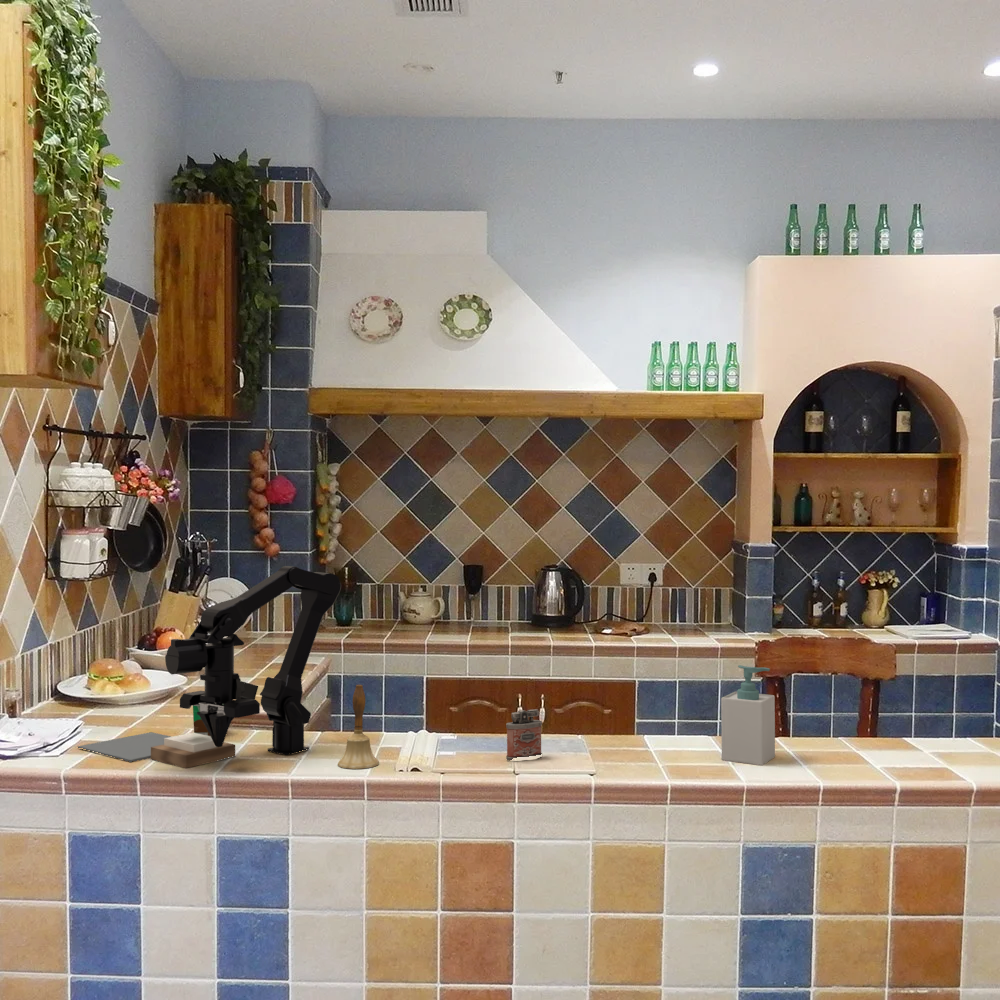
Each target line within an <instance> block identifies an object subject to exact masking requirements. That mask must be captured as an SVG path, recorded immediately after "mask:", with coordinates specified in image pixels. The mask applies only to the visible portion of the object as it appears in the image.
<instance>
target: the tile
mask: <svg viewBox="0 0 1000 1000" xmlns="http://www.w3.org/2000/svg"><path fill="white" fill-rule="evenodd" d="M164 746H168V747H172V748H177V749H181V750H185V751H190V752H198V751H202V750H207V749H212V748H216V746H215V744H214V742H213V740H212V738H211V736H207V735H202V734H197V733H194V732H189V733H185V734H179V735H175V736H174V735H173V736H171V737H168V738H164Z"/></svg>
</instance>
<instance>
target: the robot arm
mask: <svg viewBox="0 0 1000 1000" xmlns="http://www.w3.org/2000/svg"><path fill="white" fill-rule="evenodd" d="M291 588H294V589H297V590H301V591H300V602H301V603H300V605H301V608H300V609H301V611H300V613H299V615H298V618H297V621H296V624H295V627H294V628H293V629H294V630H293V633H292V635H291V638H290V641H289V644H288V647H287V649H286V651H285V655H284V657H283V661H282V663H281V666H280V669H279V671H278V672H277V673H276V675H274V677H270V676H267V677H266V679H265V680H264V681H265V682H264V686H263V689H262V690H261V692H260V693H259V696H261V698H260V702H259V701H258V700H257V699H256V696H257V693H258V689H259V685H256V684H253V683H249V682H247V681H242V680H241V677H240V674H239V673H238V672H237V673H236V672H235V647H237V646H238V647H239V646H244V645H245V642H244V641H243V640H242V639H241V638H239V636H238V634H236V632H238V630H239V629H241V628H242V627H243V625H244V624H245V623H246V622H247V620H248V618H249V617H250V616H251V615H252V614H253V613H255V612H256V611H258V610H259V609H260V608H262V607H264V606H265V605H267V604H268V603H270V602H271V601H273V600H274V599H276V598H277V597H279V596H280V595H282V594H284V593H285V592H286V591H288V590H290V589H291ZM341 589H342V583H341V582H340V579H339V577H338V576H337V575H336V574H335V573H331V572H320V571H318V572H317V571H316V572H313V571H309V570H304V569H302V568H300V567H297V566H289V565H284V566H282V567H280V568H279V569H278V570H277V571H275V572H274V573H272V574H271V575H270V576H268V577H267V578H265V579H263V580H262V581H260V582H259V583H256V584H255V585H254V586H253V587H250V588H249V589H247V590H246V591H244V592H243V593H241V594H239V595H238V596H236V597H233V598H231V599H228V600H225V601H221V602H218V603H216V604H214V605H211V606H209V607H207V608H206V609H204V610H203V611H202V613H201V617H200V621H199V622H198V624H197V626H196V627H195V629H194V630H193V632H192V633H191V634H190V635H189V638H183V639H181V638H180V639H179V638H172V639H170V645H169V647H168V649H167V651H166V654H165V657H164V658H165V659H164V661H165V666H166V669H167V672H168V673H169V674H170V675H172V676H173V675H178V674H179V675H180V674H181V675H182V674H190V673H198V672H201V671H202V670H204V674H203V673H202V674H200V675H199V680H200V681H204V690H198V691H191V692H186V693H183V694H182V695H181V697H180V698H179V708H181V709H184V710H185V709H186V710H189V709H191V708H192V707H193V705H200V712H197V715H199V716H200V718H201V719H202V721H203V723H204V725H205V726H206V728H207V730H208V732H209V734H210V736H211V738H212V740H213V742H214V744H215V746H216V747H221V746H222V745H223V743H224V742H225V740H226V736H227V735H228V730H229V728H230V725H231V723H232V721H233V720H234V719H237V718H238V719H239V718H245V717H248V716H254V715H259V714H260V713H261V707H262V710H263V711H264V712H265V713H266V716H267V719H268V720H269V721H272V722H273V723H272V725H273V727H272V736H271V737H272V745H271V746H272V747H269V748H267V752H270V751H271V753H274V752H275V753H276V754H279V753H280V754H279V755H283V754H285V755H284V756H289V755H288V754H290V755H293V754H292V753H294V754H297V753H296V752H298V753H300V752H299V751H302V750H306V749H309V750H310V747H309V746H305V725H306V724H309V723H310V719H311V716H312V715H311V714H312V713H311V712H310V711H309V709H308V708H306V706H304V705H303V703H302V699H303V698H302V697H303V693H304V692H303V683H302V678H303V674H304V671H305V669H306V666H307V663H308V660H309V657H310V654H311V651H312V649H313V646H314V642H315V640H316V637H317V634H318V631H319V628H320V626H321V623H322V619H323V617H324V615H325V614H326V613H327V612H328V611H329V610H330V609H331V608H332V607H333V605H334V604H335V602H336V600H337V598H338V596H339V595H340V592H341ZM203 668H204V669H203ZM222 704H224V705H222ZM260 705H261V706H260ZM226 734H227V735H226ZM306 751H307V750H306ZM302 752H303V751H302Z"/></svg>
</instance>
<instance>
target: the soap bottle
mask: <svg viewBox="0 0 1000 1000" xmlns="http://www.w3.org/2000/svg"><path fill="white" fill-rule="evenodd" d="M737 667H738V668H740V669H743V678H744V681H743V682H741V683H740V688H738V689H737V690H736V691H733V692H731V693H729V694H727V695H725V696H722V697H721V699H720V700H721V702H720V706H721V707H720V708H721V718H720V719H721V761H727V762H733V763H742V764H749V765H756V766H764V765H765V764H767V763H768V762H769V761H771V760H773V759H774V758H776V732H775V731H776V729H775V728H776V727H775V726H776V722H775V721H776V720H775V719H776V718H775V717H776V716H775V715H776V713H775V710H776V709H775V705H776V701H775V699H776V698H775V695H773V694H767V693H766V694H765V693H760V691H759V689H757V688H756V683H754V682H752V678H753V674H754V673H760V672H770V670H771V668H769V667H757V666H745V665H738V666H737Z"/></svg>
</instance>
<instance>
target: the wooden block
mask: <svg viewBox="0 0 1000 1000" xmlns="http://www.w3.org/2000/svg"><path fill="white" fill-rule="evenodd" d="M232 756H235V757H236V744H235V743H229V742H225V741H224V743H223V745H222V746H221V747H216V748H212V749H207V750H202V751H198V752H190V751H185V750H181V749H177V748H172V747H168V746H164V745H159V746H154V747H151V758H150V760H151V759H153V760H152V761H155V760H157V762H159V761H160V763H163V764H168V765H172V766H176V767H179V768H183V769H189V768H193V767H196V766H200V765H201V766H202V765H205V764H209V763H213V762H218V761H217V760H219V761H222V760H221V759H223V760H225V759H224V758H227V759H229V758H228V757H232ZM232 758H233V757H232Z"/></svg>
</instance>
